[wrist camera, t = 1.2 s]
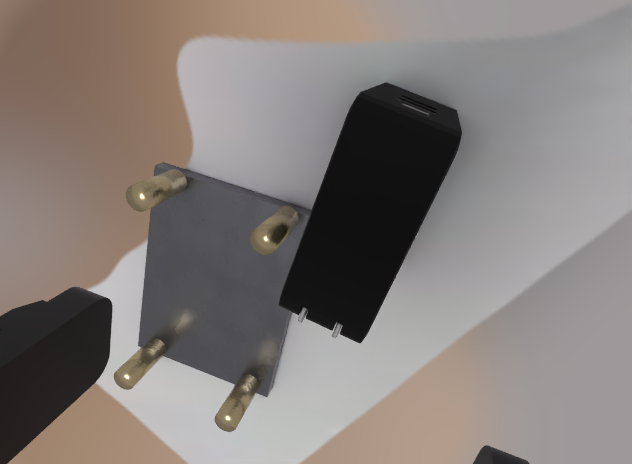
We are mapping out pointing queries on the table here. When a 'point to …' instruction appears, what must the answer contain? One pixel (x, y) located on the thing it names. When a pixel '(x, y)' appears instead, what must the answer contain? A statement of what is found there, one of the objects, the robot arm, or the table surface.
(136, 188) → the chassis
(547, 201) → the table surface
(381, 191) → the electronic device
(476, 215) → the table surface
